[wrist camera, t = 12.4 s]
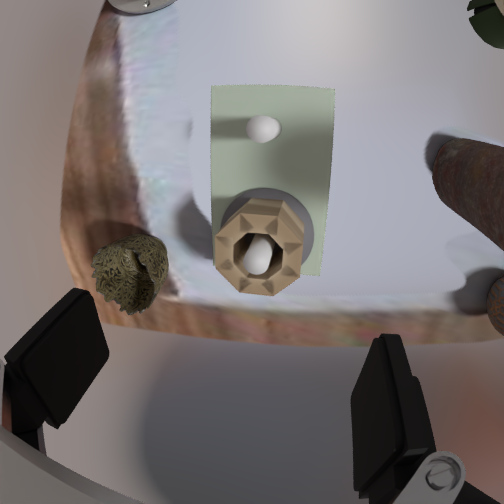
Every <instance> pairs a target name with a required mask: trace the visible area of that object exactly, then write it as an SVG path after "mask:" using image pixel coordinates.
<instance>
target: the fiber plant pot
mask: <svg viewBox="0 0 504 504" xmlns="http://www.w3.org/2000/svg"><path fill="white" fill-rule="evenodd" d="M97 251H98V253H97V254H95V255H94V257H93V258H92V259H93V263H92V264H91V267H94V268H96V269H95V271H94V272H93V275H92V278H96V279H97V281H96V291H97V292H98V293H100V294H102V295H104V299H105V301H106V302H110V301H111V300H114V301H116V303H117V304H120V305H121V308H120V311H124V310H126V312H127V314H128V315H132V314H134V313H136V312H137V311H139V313H140V314H141V313H142V312H143V311H145V309H146V308H149V307H150V306H151V304H152V303H153V301H154V299H155V297H156V296H157V294H158V292H159V291H160V289H161V287H162V285H163V283H164V281H165V279H166V277H167V273H168V266H169V264H168V258H167V248H166V246H165V244H164V243H163V242H162V241H161V240H160V239H158V238H155V237H150V236H147V235H143V234H134V235H129V236H126V237H124V238H121V239H119V240H117V241H115V242H113V243H111V244H109V245H107V246H105V247H102V248H100V249H99V250H97Z"/></svg>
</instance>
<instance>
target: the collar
mask: <svg viewBox="0 0 504 504" xmlns="http://www.w3.org/2000/svg"><path fill="white" fill-rule="evenodd" d="M248 232H250V233H261V234H269V235H270V236H271V237H272V238H273V239H274V240H275V241H276V242H277V243H278V244H279V246H280V247H281V248H282V249H281V250H280V251H278V252H277V253H276V254H274V255H272V256H271V259H270V263H269V266H268V269H267V270H266V271H265V272H264V273H262V274H259V275H255V274H251V273H249V272H248V271H247V270H246V269H245V268H244V265H243V259H244V256H245V254H246V252H247V250H248V248H249V245H248V244H247V243H246V242H245V234H246V233H248ZM303 240H304V222H303V221H302V220H301V219H300V218H299V217H298V216H297V215H296V213H295V212H294V211H293V210H292V209H291V208H290V207H289V206H288V204H287V203H286V202H285V201H284V200H276V199H262V198H251V199H250V200H249V201H248V202H246V203H245V204H244V205H243V206H242V207H241V208H240V209H239V210H238V211H236V212H235V213H234V214H233V215H232V216H231V217H230V218H229V219H228V220H227V222H226V223H225V224H224V225H223V226H222V228H221V229H220V230H219V231H218V233H217V234H216V235H215V266H216V269H217V270H218V271H219V272H220V273H221V274H222V275H223V276H224V277H225V278H226V279H227V280H228V281H229V282H230V283H231V284H232V285H233V286H234V287H235V288H236V289H237V290H238V291H239V292H241V293H249V294H258V295H267V296H274V295H276V294H277V293H278V292H280V291H281V290H283V289H284V288H286V287H287V286H288V285H290V284H291V283H292V282H294V281H295V280H297V279H298V278H300V271H301V261H302V251H303Z"/></svg>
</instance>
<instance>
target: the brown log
mask: <svg viewBox="0 0 504 504" xmlns="http://www.w3.org/2000/svg"><path fill="white" fill-rule="evenodd" d="M432 179H433V184H434V186H435V190H436V192H437V194H438V196H439V198H440V199H441V201H442V202H443V203H444V204H445V205H447V206H448V207H449V208H451V209H452V210H453V211H454V212H456V213H457V214H458V215H460V216H461V217H462V218H464V219H465V220H466V221H468V222H469V223H470V224H472V225H473V226H474V227H476V228H477V229H478V230H479V231H480V232H482V233H483V234H484V235H485V236H487V237H488V238H489V239H490V240H491V241H493V242H494V243H495V244H496V245H497V246H498V247H500V248H501V249H502V250H503V251H504V147H501V146H497V145H493V144H489V143H485V142H481V141H476V140H471V139H465V138H460V139H453V140H450V141H449V142H447V143H445V145H444V146H442V147H441V149H440V150H439V152H438V155H437V157H436V159H435V162H434V166H433V175H432Z"/></svg>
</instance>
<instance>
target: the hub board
mask: <svg viewBox="0 0 504 504" xmlns="http://www.w3.org/2000/svg"><path fill="white" fill-rule="evenodd" d="M334 108H335V89H330V88H319V87H306V86H287V85H222V86H211V208H212V209H211V210H212V211H211V212H212V248H213V266H215V235H216V234H217V233H218V231H219V230H220V229H221V228H222V226H223V225H224V224H225V223H226V222H227V220H228V219H229V218H230V217H231V216H232V215H233V214H234V213H235V212H236V211H238V210H239V209H240V208H241V207H242V206H243V205H244V204H245V203H246V202H248V201H249V200H250V199H251V198H262V199H276V200H284V201H285V202H286V203H287V204H288V206H289V207H290V208H291V209H292V210H293V211H294V212H295V213H296V215H297V216H298V217H299V218H300V219H301V220H302V221H303V222H304V240H303V251H302V261H301V271H300V274H303V275H313V276H320V270H321V262H322V254H323V246H324V237H325V228H326V219H327V209H328V199H329V187H330V175H331V162H332V147H333V130H334ZM245 242H246V243H247V244H248V245H249V248H248V250H247V252H246V254H245V256H244V259H243V265H244V268H245V269H246V270H247V271H248V272H249V273H251V274H255V275H259V274H262V273H264V272H265V271H266V270H267V269H268V266H269V263H270V259H271V256H272V255H274V254H276V253H277V252H278V251H280V250H281V249H282V248H281V247H280V246H279V244H278V243H277V242H276V241H275V240H274V239H273V238H272V237H271V236H270V235H269V234H261V233H250V232H248V233H246V234H245Z"/></svg>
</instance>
